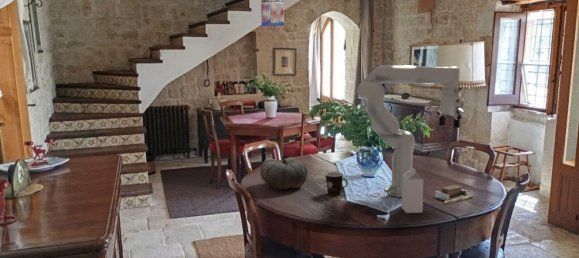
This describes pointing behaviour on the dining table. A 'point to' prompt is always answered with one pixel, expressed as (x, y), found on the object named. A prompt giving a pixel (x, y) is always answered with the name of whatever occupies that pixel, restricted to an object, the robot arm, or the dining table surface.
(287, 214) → the dining table surface
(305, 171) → the gourd
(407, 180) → the milk carton
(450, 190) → the brown rectangular block
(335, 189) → the coffee mug
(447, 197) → the keeper
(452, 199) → the door edge strip
